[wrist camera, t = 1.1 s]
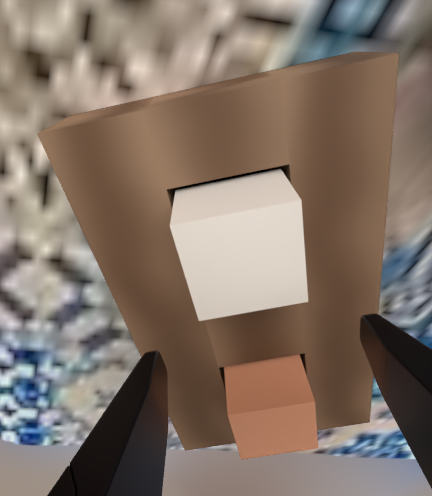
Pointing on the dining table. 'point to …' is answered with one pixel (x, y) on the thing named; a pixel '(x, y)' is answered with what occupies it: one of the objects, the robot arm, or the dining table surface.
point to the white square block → (241, 244)
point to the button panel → (230, 164)
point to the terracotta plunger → (271, 407)
